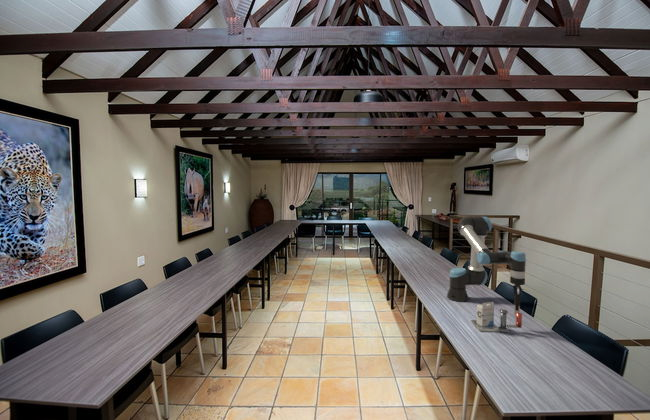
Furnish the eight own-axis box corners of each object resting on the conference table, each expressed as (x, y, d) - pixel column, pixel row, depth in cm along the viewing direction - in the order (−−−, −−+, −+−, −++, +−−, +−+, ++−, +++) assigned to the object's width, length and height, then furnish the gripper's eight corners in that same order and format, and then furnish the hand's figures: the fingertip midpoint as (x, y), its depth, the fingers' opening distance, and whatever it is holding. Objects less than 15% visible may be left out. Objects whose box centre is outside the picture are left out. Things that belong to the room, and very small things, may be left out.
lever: (505, 325, 178) (506, 312, 177) (519, 326, 178) (520, 312, 177) (508, 328, 175) (508, 314, 175) (522, 328, 175) (523, 314, 174)
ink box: (487, 321, 186) (488, 298, 185) (493, 325, 181) (494, 301, 180) (476, 323, 184) (476, 300, 183) (481, 326, 180) (482, 303, 179)
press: (470, 322, 189) (471, 303, 188) (497, 322, 188) (497, 303, 187) (481, 332, 175) (481, 312, 175) (509, 333, 174) (510, 312, 174)
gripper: (509, 273, 187) (508, 309, 188) (511, 279, 175) (510, 317, 177) (523, 275, 183) (522, 312, 184) (526, 280, 172) (525, 320, 173)
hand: (516, 314), depth 181 cm, fingers closed
